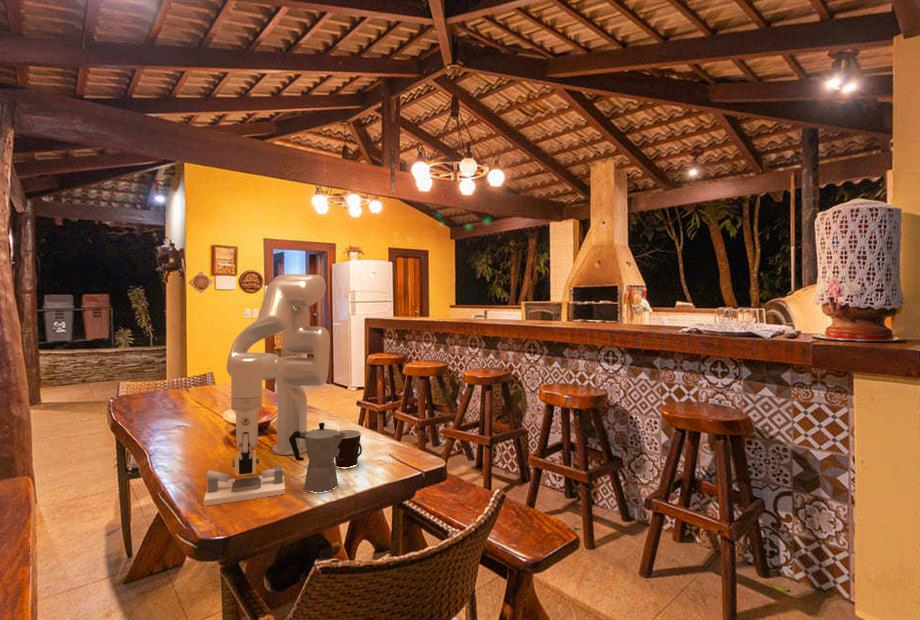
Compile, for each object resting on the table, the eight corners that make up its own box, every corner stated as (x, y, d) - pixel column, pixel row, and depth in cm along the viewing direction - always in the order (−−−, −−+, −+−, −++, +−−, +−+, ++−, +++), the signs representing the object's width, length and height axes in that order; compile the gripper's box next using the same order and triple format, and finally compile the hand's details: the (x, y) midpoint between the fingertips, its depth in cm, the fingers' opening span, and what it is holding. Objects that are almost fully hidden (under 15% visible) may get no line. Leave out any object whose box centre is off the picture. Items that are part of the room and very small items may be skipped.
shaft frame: (283, 477, 134) (283, 454, 133) (284, 494, 123) (285, 469, 122) (208, 487, 126) (208, 462, 126) (202, 506, 115) (202, 479, 115)
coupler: (259, 467, 127) (259, 449, 127) (259, 472, 123) (259, 454, 123) (232, 470, 125) (233, 451, 125) (231, 476, 121) (231, 457, 120)
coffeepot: (348, 480, 133) (349, 418, 132) (341, 494, 123) (342, 427, 123) (294, 480, 132) (294, 418, 131) (283, 494, 123) (283, 427, 122)
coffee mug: (331, 462, 146) (331, 431, 146) (358, 459, 150) (358, 428, 149) (334, 475, 136) (334, 442, 135) (364, 472, 139) (364, 439, 138)
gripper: (261, 408, 117) (260, 479, 118) (262, 395, 133) (261, 458, 133) (228, 410, 114) (228, 483, 115) (233, 397, 130) (232, 461, 130)
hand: (246, 469), depth 124 cm, fingers closed on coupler, 4 cm apart
